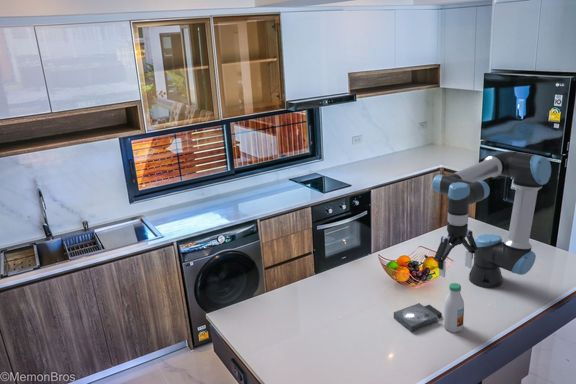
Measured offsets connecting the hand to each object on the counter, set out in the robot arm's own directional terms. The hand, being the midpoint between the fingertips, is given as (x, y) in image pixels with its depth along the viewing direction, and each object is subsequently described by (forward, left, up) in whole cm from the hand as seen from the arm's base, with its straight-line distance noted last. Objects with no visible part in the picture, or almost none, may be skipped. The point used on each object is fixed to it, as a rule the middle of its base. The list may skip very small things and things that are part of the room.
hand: (455, 271), depth 192 cm
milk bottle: (0, 0, -27) cm, 27 cm away
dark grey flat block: (+8, -12, -26) cm, 30 cm away
